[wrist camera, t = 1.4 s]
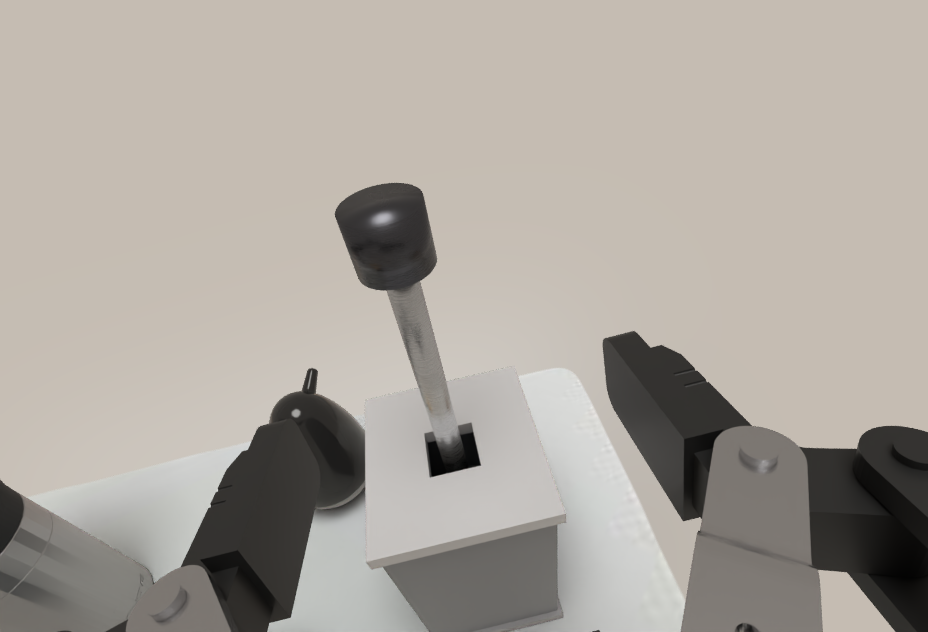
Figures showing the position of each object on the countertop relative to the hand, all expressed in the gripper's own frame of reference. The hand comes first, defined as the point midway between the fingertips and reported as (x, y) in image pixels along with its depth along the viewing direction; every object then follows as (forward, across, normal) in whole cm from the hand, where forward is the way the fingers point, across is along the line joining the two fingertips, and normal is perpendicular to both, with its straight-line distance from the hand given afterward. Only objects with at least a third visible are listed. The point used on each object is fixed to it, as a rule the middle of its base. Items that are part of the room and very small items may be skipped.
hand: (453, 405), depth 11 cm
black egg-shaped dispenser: (+30, +19, +32) cm, 48 cm away
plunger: (+16, +3, +24) cm, 29 cm away
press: (+19, +4, +35) cm, 40 cm away
